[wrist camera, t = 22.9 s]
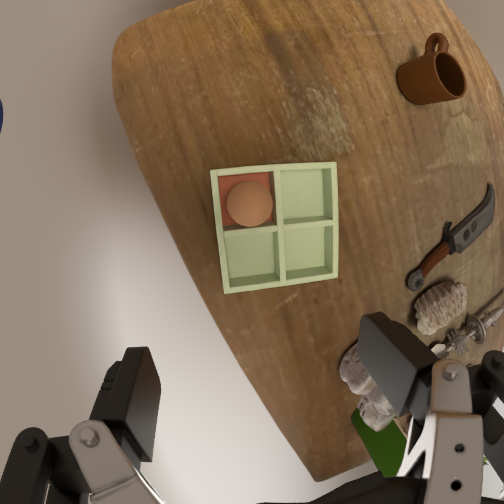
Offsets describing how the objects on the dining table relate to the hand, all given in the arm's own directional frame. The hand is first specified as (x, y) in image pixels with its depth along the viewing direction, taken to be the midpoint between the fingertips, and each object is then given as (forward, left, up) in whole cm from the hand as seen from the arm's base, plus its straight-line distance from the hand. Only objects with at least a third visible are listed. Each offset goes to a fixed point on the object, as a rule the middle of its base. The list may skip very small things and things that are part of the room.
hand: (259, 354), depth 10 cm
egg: (+3, +2, -28) cm, 28 cm away
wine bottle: (+27, -47, -28) cm, 61 cm away
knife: (+42, -6, -28) cm, 51 cm away
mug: (+32, +22, -28) cm, 48 cm away
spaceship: (+53, -29, -28) cm, 67 cm away
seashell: (+38, -20, -28) cm, 51 cm away
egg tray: (+6, -1, -28) cm, 29 cm away
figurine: (+22, -28, -28) cm, 45 cm away
